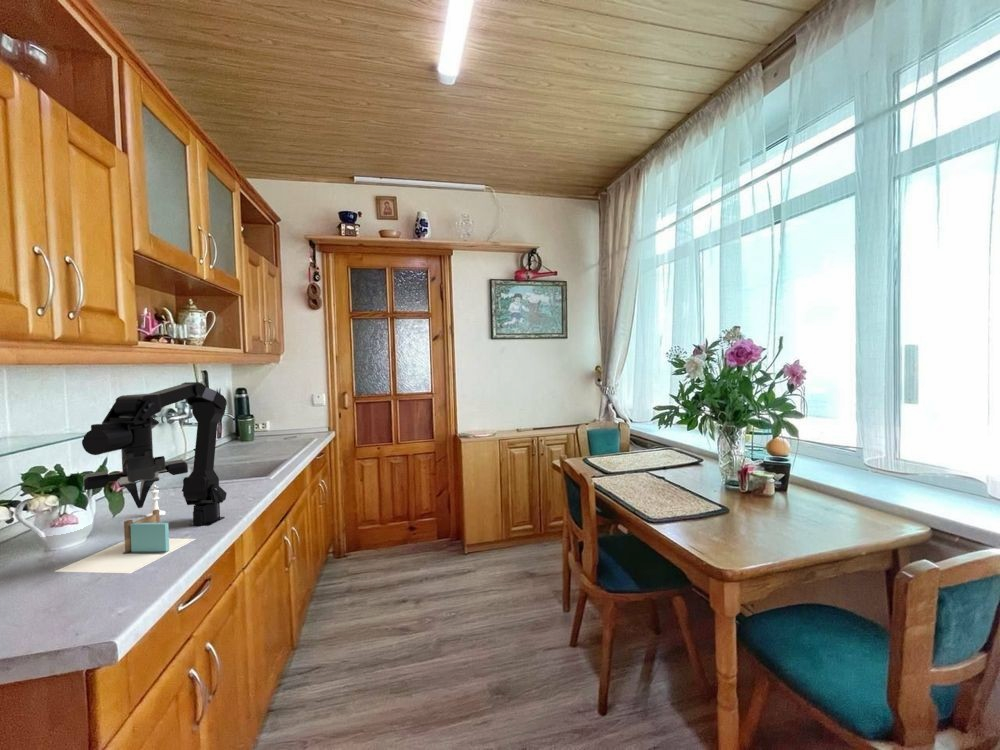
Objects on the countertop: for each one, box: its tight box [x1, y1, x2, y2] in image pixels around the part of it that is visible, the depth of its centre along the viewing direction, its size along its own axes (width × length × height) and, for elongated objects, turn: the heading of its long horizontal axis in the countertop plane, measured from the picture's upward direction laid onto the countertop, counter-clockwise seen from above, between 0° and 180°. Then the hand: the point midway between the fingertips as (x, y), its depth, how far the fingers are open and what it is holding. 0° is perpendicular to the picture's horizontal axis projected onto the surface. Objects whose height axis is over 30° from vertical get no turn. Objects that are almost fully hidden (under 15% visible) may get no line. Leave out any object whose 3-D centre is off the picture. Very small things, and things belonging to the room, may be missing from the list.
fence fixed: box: [123, 508, 161, 553], centre depth 105 cm, size 9×2×8 cm, turn 176°
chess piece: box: [145, 484, 166, 517], centre depth 127 cm, size 5×5×10 cm
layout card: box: [54, 537, 196, 574], centre depth 100 cm, size 18×19×1 cm
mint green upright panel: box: [130, 522, 170, 552], centre depth 101 cm, size 9×1×7 cm, turn 89°
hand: (140, 507), depth 98 cm, fingers closed
